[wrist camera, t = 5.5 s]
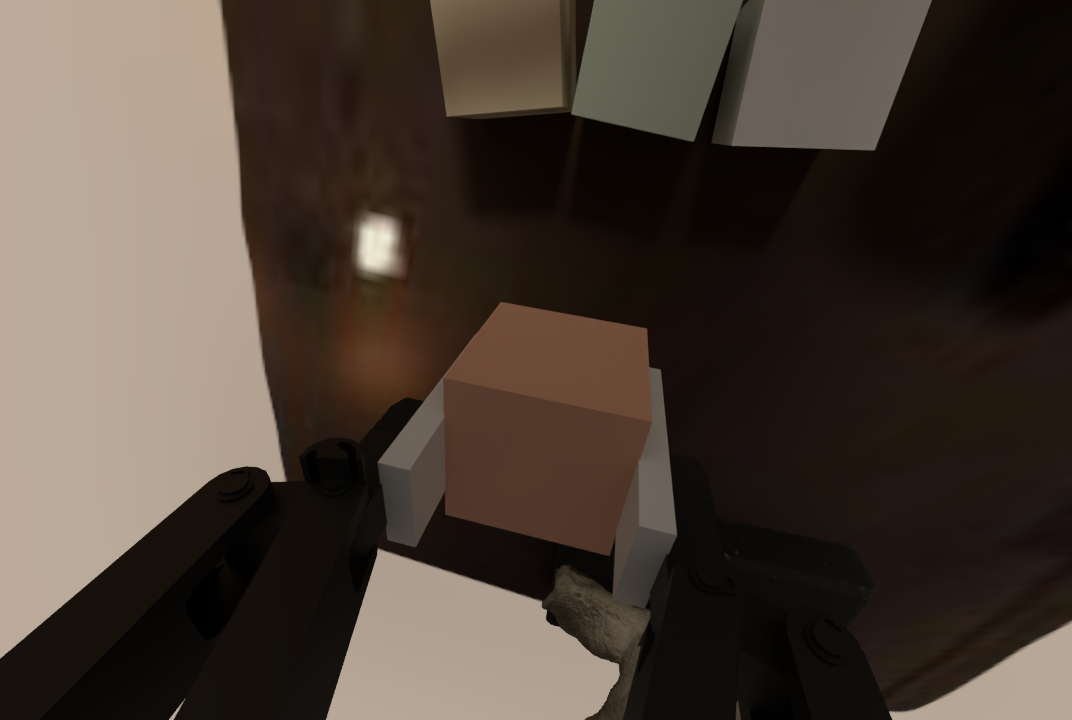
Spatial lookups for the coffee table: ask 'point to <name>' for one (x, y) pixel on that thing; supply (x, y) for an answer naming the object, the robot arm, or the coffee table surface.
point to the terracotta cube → (547, 425)
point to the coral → (759, 563)
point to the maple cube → (506, 56)
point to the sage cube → (653, 63)
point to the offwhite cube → (815, 72)
